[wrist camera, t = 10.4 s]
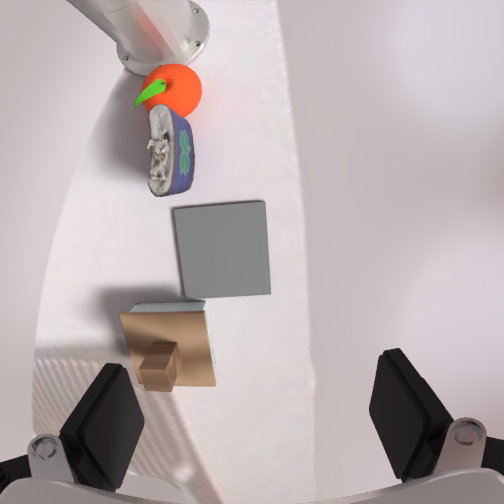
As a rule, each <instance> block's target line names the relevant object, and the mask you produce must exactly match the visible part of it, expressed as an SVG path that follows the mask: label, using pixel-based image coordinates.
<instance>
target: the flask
mask: <svg viewBox="0 0 504 504" xmlns="http://www.w3.org/2000/svg"><path fill="white" fill-rule="evenodd" d="M148 120H149V125H150V131H151V140H149V142H148V145H147V149H149V147H150V146H152V153H151V156H152V158H151V169H150V174H149V178H148V186H149V189H150V190H151V192H152V193H153V194H154V195H155V196H156V197H158V196H160V197H164V196H169V195H173V194H178V193H183V192H185V191H187V190H189V189H190V187H191V185H192V182H193V175H194V166H195V154H194V146H193V135H192V131H191V127H190V124H189V123H188V121H187V120H186V119H184V118H182V117H181V116H180V115H179V114H178V113H176V112H175V111H173V110H172V109H171V108H170V107H169V106H167V105H165V104H158V105H156V106H154V107H153V108H152V109H151V110H150V112H149V118H148Z"/></svg>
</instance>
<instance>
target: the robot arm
mask: <svg viewBox="0 0 504 504" xmlns="http://www.w3.org/2000/svg"><path fill="white" fill-rule="evenodd" d="M67 1H68V2H69V3H71V4H72V5H73V6H75V7H76V8H77V9H78V10H79V11H80V12H81V13H83V14H84V15H85V16H86V17H87V18H89V19H90V20H91V21H92V22H93V23H95V24H96V25H97V26H98V27H99V28H100V29H101V30H103V31H104V32H105V33H106V34H107V35H108V36H110V37H111V38H112V39H113V40H114V41H115V42H116V43H117V53H118V56H119V59H120V60H121V62H122V64H123V65H124V66H125V67H126V68H128V69H129V70H130V71H132V72H133V73H136V74H138V75H142V76H148V75H149V74H150V73H151V72H152V71H153V70H155V69H156V68H158V67H160V66H162V65H166V64H172V63H174V64H182V65H185V66H187V65H188V64H190V63H191V62H192V61H193V60H194V59H195V58H196V57H198V55H199V54H200V53H201V52H202V50H203V49H204V47H205V45H206V43H207V41H208V37H209V32H210V26H209V20H208V18H207V15H206V13H205V12H204V10H203V9H202V8H201V7H200V6H199V5H198V4H196V3H194V2H192V1H190V0H67ZM197 45H199V46H197ZM369 413H370V416H371V419H372V421H373V424H374V426H375V428H376V430H377V433H378V435H379V437H380V440H381V442H382V444H383V447H384V449H385V452H386V454H387V457H388V459H389V461H390V464H391V466H392V469H393V471H394V474H395V476H396V478H397V479H400V478H401V480H402V484H398V485H395V486H391V487H387V488H384V489H379V490H375V491H371V492H367V493H362V494H357V495H353V496H347V497H342V498H337V499H331V500H324V501H318V502H310V503H301V504H504V440H501V439H496V438H491V437H487V434H486V429H485V427H484V425H483V424H482V423H481V422H480V421H478V420H476V419H473V418H466V417H465V418H460V419H457V420H455V421H454V420H453V418H452V417H451V415H450V414H449V412H448V411H447V410H446V409H445V407H444V405H443V404H442V403H441V401H440V400H439V398H438V397H437V396H436V394H435V393H434V392H433V390H432V389H431V387H430V386H429V385H428V384H427V382H426V381H425V379H424V378H422V377H421V376H420V375H419V373H418V372H417V370H416V369H415V368H414V366H413V365H412V364H411V362H410V361H409V360H408V358H407V357H406V356H405V355H404V353H403V352H402V351H401V349H400V348H395V349H390V350H385V351H384V352H383V355H380V356H379V359H378V365H377V370H376V377H375V381H374V387H373V392H372V396H371V401H370V406H369ZM143 427H144V416H143V414H142V411H141V408H140V406H139V403H138V400H137V398H136V395H135V392H134V389H133V387H132V384H131V381H130V378H129V375H128V372H127V369H126V368H123V366H122V365H121V364H115V363H106V364H105V365H104V367H103V368H102V370H101V371H100V372H99V374H98V375H97V377H96V378H95V380H94V381H93V382H92V384H91V385H90V387H89V388H88V390H87V391H86V393H85V394H84V395H83V397H82V398H81V400H80V401H79V403H78V404H77V406H76V407H75V409H74V410H73V412H72V413H71V415H70V416H69V418H68V419H67V421H66V422H65V424H64V425H63V427H62V428H61V430H60V431H59V432H60V435H59V437H57V436H55V435H52V434H42V435H39V436H37V437H35V438H34V439H33V440H32V441H31V442H30V443H29V445H28V451H27V452H28V454H27V455H24V456H20V457H17V458H14V459H10V460H8V461H4V462H0V504H179V503H171V502H163V501H156V500H150V499H143V498H138V497H132V496H128V495H123V494H118V493H115V491H116V488H117V489H119V488H120V487H121V484H122V482H123V479H124V476H125V474H126V471H127V469H128V466H129V463H130V461H131V458H132V455H133V453H134V450H135V448H136V445H137V442H138V440H139V437H140V435H141V432H142V430H143Z"/></svg>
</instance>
